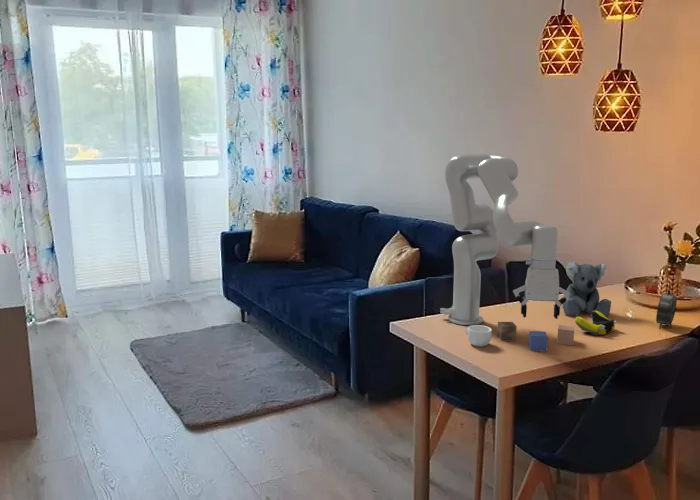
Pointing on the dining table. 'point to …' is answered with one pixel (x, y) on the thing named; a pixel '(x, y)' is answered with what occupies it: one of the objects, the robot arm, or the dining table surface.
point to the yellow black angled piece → (596, 324)
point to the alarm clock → (666, 308)
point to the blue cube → (538, 341)
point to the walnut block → (506, 331)
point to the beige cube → (565, 334)
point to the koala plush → (585, 290)
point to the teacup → (479, 335)
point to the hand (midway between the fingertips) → (539, 317)
